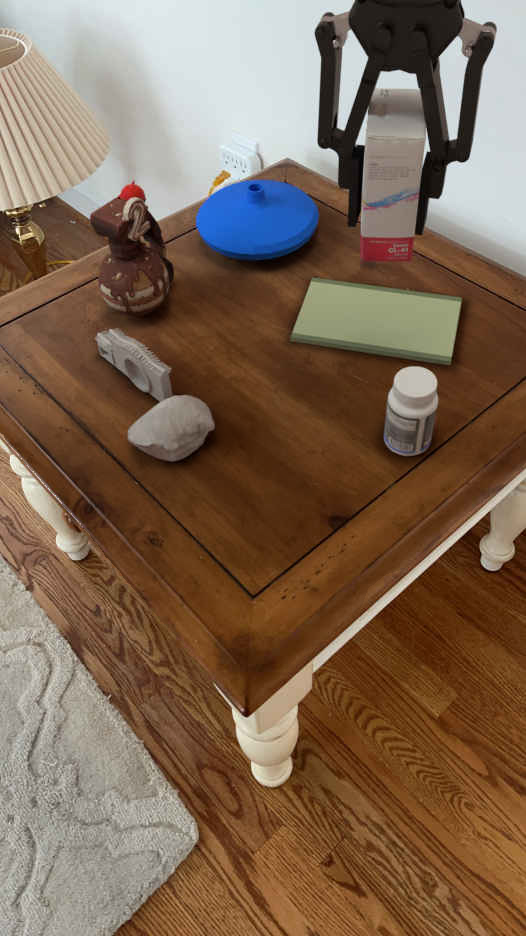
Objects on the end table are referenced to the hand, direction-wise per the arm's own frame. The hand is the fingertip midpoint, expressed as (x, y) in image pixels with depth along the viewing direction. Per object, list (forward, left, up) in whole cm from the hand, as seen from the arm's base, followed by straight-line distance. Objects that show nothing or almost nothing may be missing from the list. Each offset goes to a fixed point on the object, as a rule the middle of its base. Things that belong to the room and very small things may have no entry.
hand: (387, 221), depth 69 cm
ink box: (0, 0, -2) cm, 2 cm away
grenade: (-29, +3, -17) cm, 34 cm away
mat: (-1, +6, -17) cm, 18 cm away
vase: (-19, +19, -17) cm, 32 cm away
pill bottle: (+5, -11, -17) cm, 21 cm away
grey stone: (-18, -16, -17) cm, 30 cm away
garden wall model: (-25, -9, -17) cm, 32 cm away
